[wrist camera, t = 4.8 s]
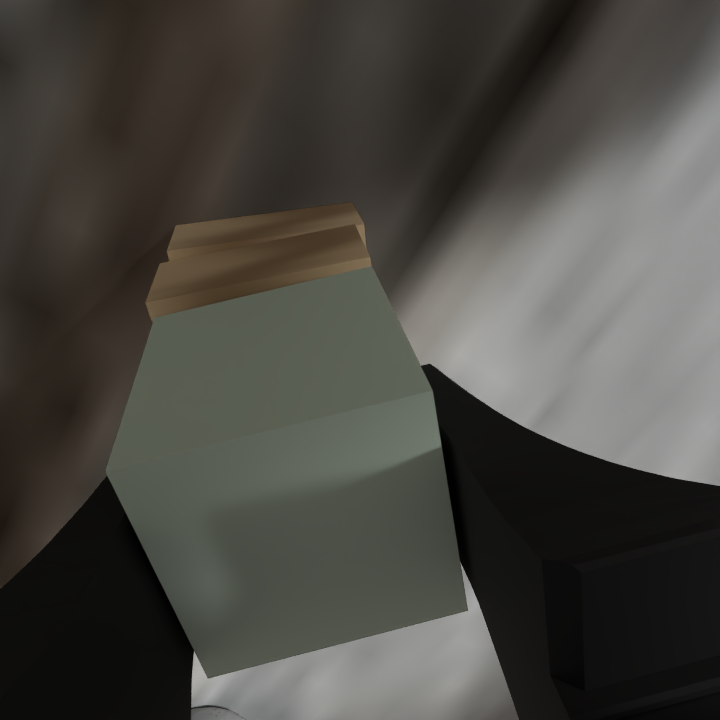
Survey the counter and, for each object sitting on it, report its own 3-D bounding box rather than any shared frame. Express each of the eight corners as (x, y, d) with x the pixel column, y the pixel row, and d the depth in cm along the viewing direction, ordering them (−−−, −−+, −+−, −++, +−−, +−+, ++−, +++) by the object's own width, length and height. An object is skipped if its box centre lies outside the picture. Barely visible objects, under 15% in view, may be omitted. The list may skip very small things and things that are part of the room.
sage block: (372, 266, 13) (432, 390, 9) (405, 440, 15) (467, 610, 11) (154, 318, 13) (105, 471, 9) (220, 486, 15) (207, 678, 11)
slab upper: (354, 224, 16) (369, 256, 14) (382, 387, 19) (398, 437, 17) (159, 263, 16) (145, 302, 14) (213, 423, 19) (208, 479, 16)
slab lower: (351, 199, 19) (363, 224, 16) (366, 350, 21) (379, 389, 19) (176, 222, 18) (166, 250, 16) (212, 374, 21) (208, 417, 18)
